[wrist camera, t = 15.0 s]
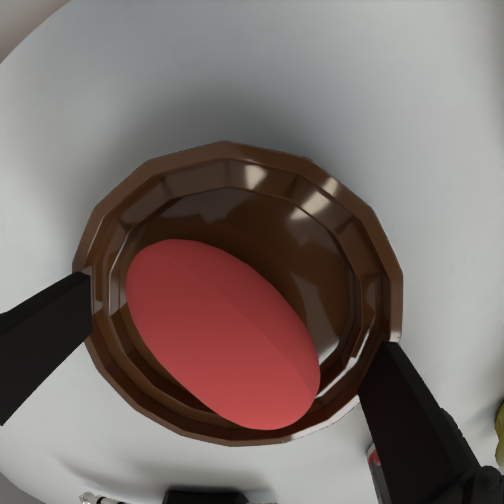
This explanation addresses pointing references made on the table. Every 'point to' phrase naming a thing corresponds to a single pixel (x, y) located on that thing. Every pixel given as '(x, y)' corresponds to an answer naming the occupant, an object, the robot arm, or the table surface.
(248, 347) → the stress ball
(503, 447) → the mug
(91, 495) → the audio adapter
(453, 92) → the table surface
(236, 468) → the table surface
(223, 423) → the plate
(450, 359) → the table surface
